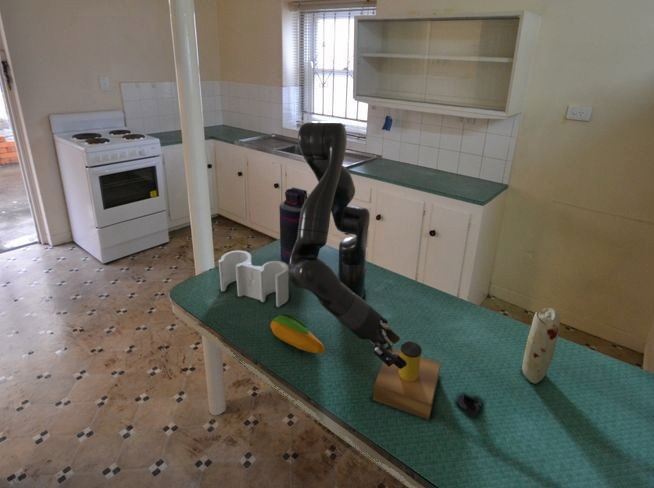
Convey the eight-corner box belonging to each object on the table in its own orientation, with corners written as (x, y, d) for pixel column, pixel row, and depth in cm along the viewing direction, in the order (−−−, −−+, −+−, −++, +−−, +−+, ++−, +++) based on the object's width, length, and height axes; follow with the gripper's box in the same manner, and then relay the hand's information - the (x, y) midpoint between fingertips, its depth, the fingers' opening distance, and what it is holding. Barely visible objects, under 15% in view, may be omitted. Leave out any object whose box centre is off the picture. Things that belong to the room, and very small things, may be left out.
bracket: (294, 293, 142) (293, 263, 138) (280, 309, 133) (279, 277, 129) (234, 276, 151) (232, 247, 146) (218, 290, 142) (215, 260, 138)
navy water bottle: (298, 271, 155) (298, 199, 145) (274, 262, 161) (272, 192, 150) (318, 256, 167) (319, 188, 156) (295, 248, 172) (294, 182, 162)
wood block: (388, 361, 113) (389, 347, 111) (438, 377, 108) (440, 362, 107) (372, 399, 101) (374, 384, 99) (429, 419, 96) (431, 404, 94)
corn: (280, 303, 124) (333, 331, 113) (282, 323, 127) (333, 351, 116) (263, 317, 118) (316, 347, 107) (265, 337, 121) (317, 368, 110)
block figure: (462, 384, 103) (485, 394, 101) (461, 391, 104) (483, 401, 101) (455, 401, 99) (479, 412, 96) (454, 408, 99) (477, 419, 97)
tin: (403, 363, 106) (405, 338, 103) (421, 371, 104) (424, 346, 101) (394, 375, 102) (397, 350, 99) (413, 384, 100) (417, 359, 97)
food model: (545, 391, 105) (562, 329, 98) (517, 380, 108) (532, 319, 101) (548, 367, 113) (565, 308, 106) (523, 357, 116) (537, 299, 109)
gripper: (372, 326, 88) (418, 366, 93) (364, 288, 102) (405, 324, 106) (347, 345, 90) (394, 384, 95) (343, 305, 103) (384, 341, 108)
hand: (400, 352), depth 100 cm, fingers open, 8 cm apart
